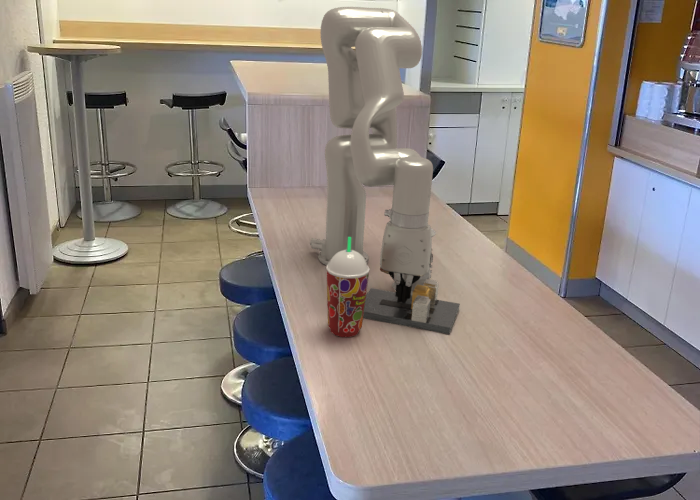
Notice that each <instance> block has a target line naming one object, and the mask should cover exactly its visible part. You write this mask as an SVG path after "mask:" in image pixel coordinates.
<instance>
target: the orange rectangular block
mask: <svg viewBox="0 0 700 500" xmlns="http://www.w3.org/2000/svg"><path fill="white" fill-rule="evenodd" d="M429 291H430V289H428V286H423V285H417V286H416V287H415V289H414V291H413V295H412V305H411V309H413V302H414V300H415V298H416V297H417V295H420V296H426V297H429Z"/></svg>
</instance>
